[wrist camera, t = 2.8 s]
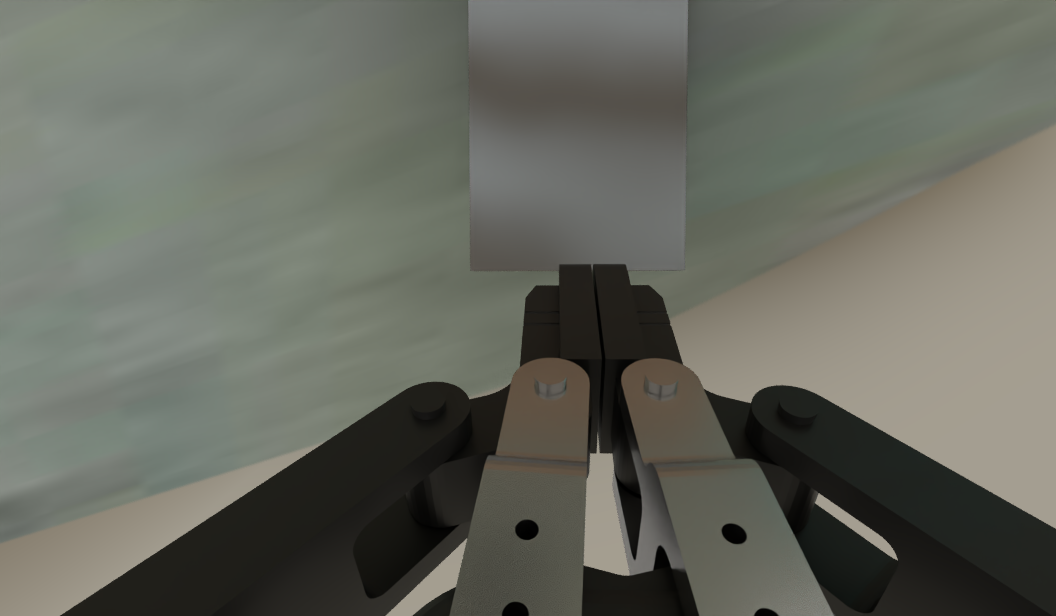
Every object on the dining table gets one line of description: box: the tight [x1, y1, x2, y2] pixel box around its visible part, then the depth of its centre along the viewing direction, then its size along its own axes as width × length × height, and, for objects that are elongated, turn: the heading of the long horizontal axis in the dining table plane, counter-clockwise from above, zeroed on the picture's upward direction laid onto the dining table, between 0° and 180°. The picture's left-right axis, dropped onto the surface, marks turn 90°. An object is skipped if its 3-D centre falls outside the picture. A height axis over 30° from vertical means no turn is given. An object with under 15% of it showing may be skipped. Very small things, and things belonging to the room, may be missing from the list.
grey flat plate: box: [468, 0, 688, 271], centre depth 21 cm, size 14×8×2 cm, turn 2°
